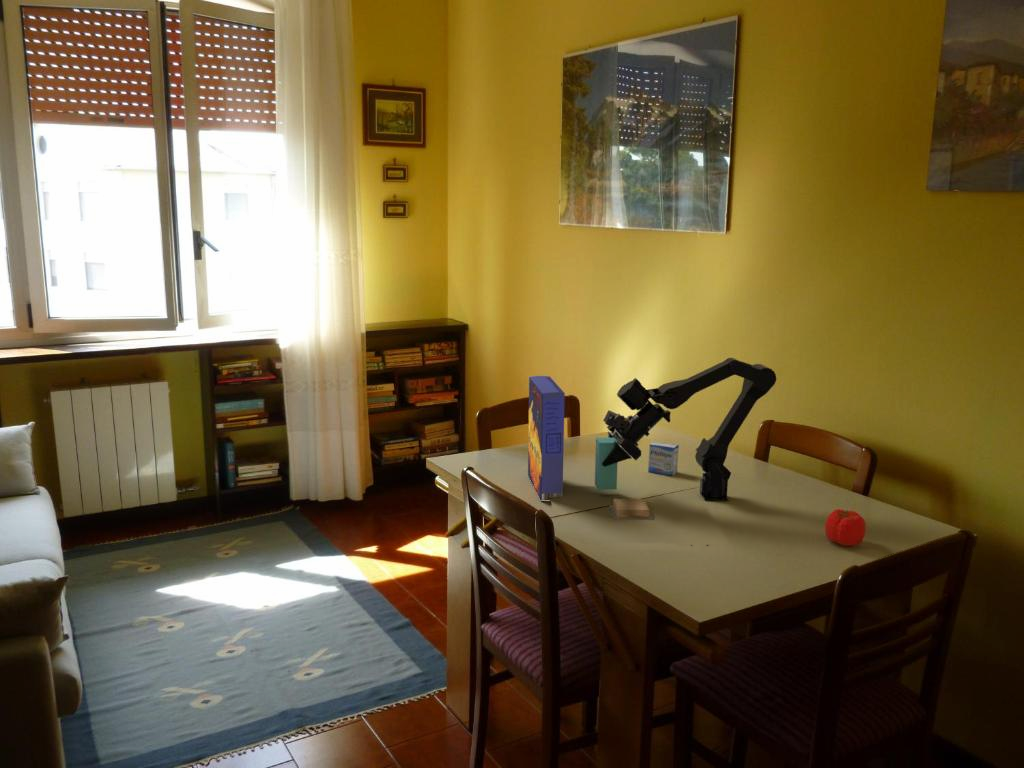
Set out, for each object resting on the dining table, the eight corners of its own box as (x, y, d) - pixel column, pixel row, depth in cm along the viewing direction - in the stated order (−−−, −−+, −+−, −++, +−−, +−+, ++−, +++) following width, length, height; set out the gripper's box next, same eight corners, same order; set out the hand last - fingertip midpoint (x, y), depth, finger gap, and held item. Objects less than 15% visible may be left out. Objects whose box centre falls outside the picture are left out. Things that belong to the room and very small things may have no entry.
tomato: (824, 533, 206) (827, 504, 205) (863, 539, 203) (866, 509, 201) (823, 547, 198) (826, 517, 196) (864, 553, 194) (867, 522, 193)
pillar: (612, 483, 231) (614, 437, 228) (616, 489, 226) (618, 442, 223) (594, 483, 231) (596, 437, 228) (598, 489, 226) (599, 442, 223)
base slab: (647, 512, 221) (647, 505, 221) (653, 526, 212) (654, 519, 211) (608, 512, 221) (609, 505, 221) (613, 526, 212) (614, 519, 211)
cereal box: (528, 476, 248) (529, 375, 242) (548, 475, 249) (549, 375, 242) (540, 501, 227) (542, 392, 220) (562, 500, 228) (564, 391, 221)
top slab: (644, 506, 220) (644, 498, 220) (648, 517, 212) (649, 509, 212) (613, 506, 220) (613, 498, 220) (617, 517, 212) (617, 509, 212)
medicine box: (647, 472, 253) (648, 444, 251) (652, 468, 256) (653, 440, 255) (673, 476, 249) (674, 447, 247) (677, 472, 253) (679, 444, 251)
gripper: (615, 393, 233) (575, 433, 234) (630, 409, 215) (586, 452, 216) (642, 420, 235) (602, 459, 237) (659, 439, 217) (615, 481, 218)
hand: (601, 462), depth 227 cm, fingers closed on pillar, 5 cm apart
